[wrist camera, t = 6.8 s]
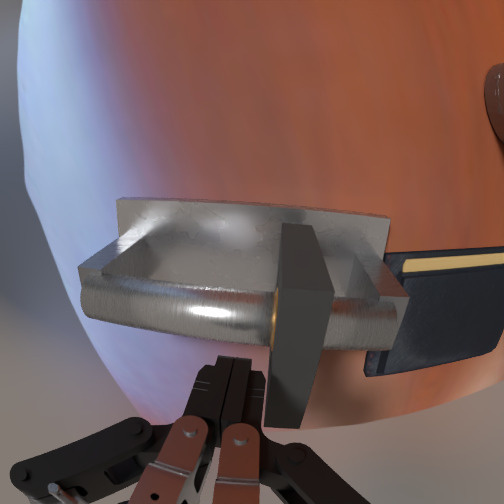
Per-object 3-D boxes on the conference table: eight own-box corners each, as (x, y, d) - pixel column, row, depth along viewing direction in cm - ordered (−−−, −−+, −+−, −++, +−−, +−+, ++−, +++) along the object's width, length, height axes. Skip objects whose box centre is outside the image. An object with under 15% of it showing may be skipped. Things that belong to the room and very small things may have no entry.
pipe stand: (385, 215, 21) (444, 263, 12) (362, 320, 25) (390, 398, 16) (123, 197, 23) (47, 231, 14) (133, 298, 27) (81, 361, 17)
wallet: (361, 385, 27) (388, 250, 21) (358, 373, 28) (381, 242, 23) (496, 359, 24) (535, 248, 19) (490, 350, 26) (525, 242, 21)
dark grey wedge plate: (311, 225, 19) (334, 291, 10) (296, 335, 22) (299, 428, 14) (281, 222, 19) (281, 288, 11) (271, 333, 22) (263, 426, 14)
